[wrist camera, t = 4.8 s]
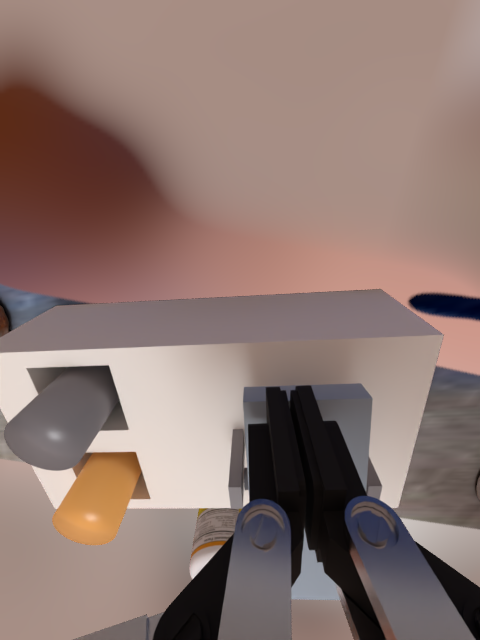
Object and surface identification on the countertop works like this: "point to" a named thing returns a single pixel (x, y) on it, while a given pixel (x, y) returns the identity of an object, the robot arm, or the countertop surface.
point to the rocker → (355, 424)
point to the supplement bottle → (211, 535)
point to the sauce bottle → (3, 322)
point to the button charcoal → (63, 418)
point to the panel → (225, 381)
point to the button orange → (98, 498)
